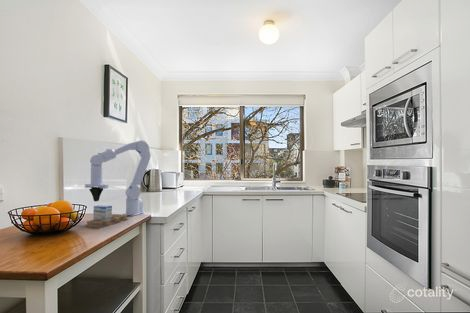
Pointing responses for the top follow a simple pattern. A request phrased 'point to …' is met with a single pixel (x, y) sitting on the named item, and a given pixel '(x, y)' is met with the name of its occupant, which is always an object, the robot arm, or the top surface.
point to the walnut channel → (106, 221)
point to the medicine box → (102, 212)
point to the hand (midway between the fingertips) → (96, 201)
